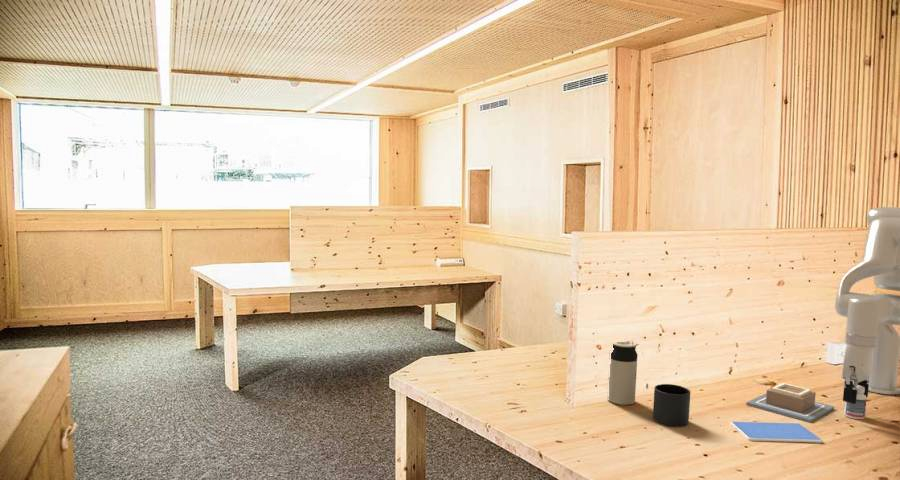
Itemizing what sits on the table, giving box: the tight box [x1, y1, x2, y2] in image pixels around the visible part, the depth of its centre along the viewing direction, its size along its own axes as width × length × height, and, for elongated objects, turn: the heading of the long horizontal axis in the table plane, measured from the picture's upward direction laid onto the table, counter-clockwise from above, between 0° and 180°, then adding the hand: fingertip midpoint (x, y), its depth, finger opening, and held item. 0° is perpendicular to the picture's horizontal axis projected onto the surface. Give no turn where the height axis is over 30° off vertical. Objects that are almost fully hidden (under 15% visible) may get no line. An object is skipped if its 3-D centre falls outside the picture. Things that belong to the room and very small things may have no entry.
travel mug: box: [607, 340, 638, 406], centre depth 196 cm, size 8×8×18 cm
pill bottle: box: [843, 385, 868, 420], centre depth 189 cm, size 5×5×9 cm
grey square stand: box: [745, 382, 835, 423], centre depth 196 cm, size 18×18×6 cm
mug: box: [652, 383, 691, 428], centre depth 183 cm, size 9×12×9 cm
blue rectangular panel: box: [730, 421, 824, 444], centre depth 175 cm, size 19×13×1 cm, turn 89°
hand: (855, 399), depth 188 cm, fingers open, 9 cm apart
